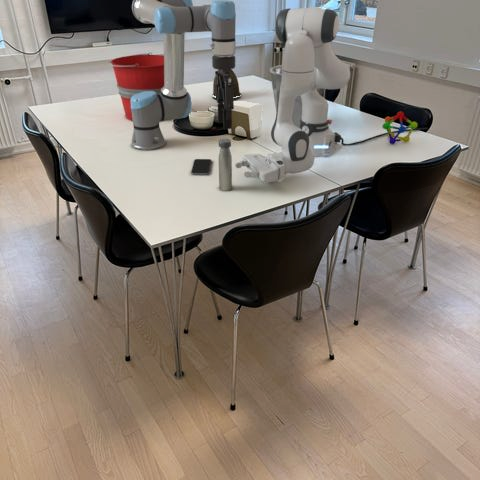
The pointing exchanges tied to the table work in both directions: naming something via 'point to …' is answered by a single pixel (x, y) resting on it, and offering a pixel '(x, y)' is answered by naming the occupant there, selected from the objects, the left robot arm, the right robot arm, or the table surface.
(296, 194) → the table surface
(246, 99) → the table surface
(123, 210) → the table surface
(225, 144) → the cap
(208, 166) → the smartphone
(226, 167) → the bottle
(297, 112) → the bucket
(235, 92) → the bell
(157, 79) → the bucket
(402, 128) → the educational toy
